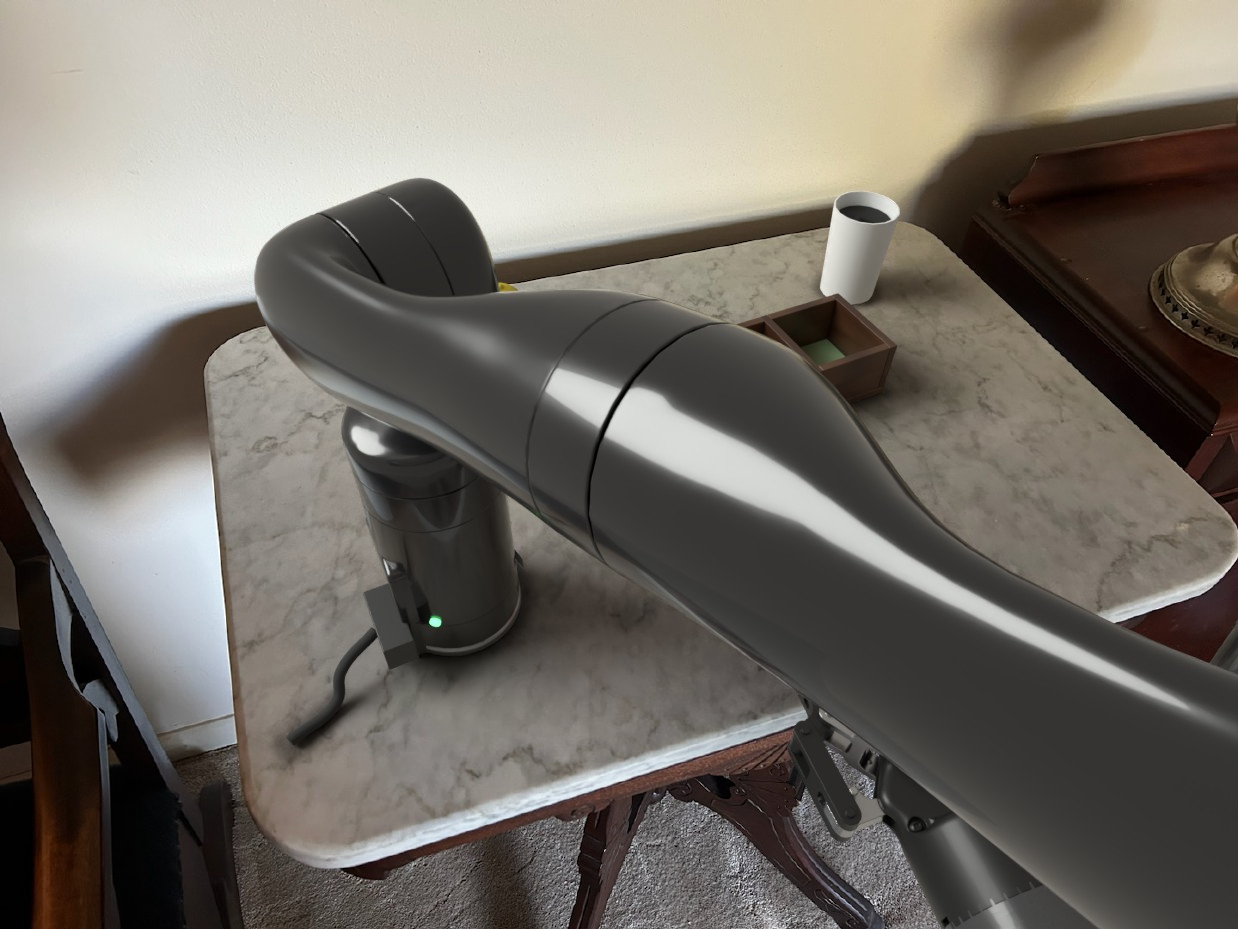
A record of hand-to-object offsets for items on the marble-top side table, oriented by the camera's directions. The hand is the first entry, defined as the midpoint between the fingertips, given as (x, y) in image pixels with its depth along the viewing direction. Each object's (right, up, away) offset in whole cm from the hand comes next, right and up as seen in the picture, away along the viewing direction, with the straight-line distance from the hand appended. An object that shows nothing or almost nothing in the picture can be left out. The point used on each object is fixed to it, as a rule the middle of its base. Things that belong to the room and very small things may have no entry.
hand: (864, 637), depth 52 cm
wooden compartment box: (+1, +18, +30) cm, 35 cm away
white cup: (+10, +30, +42) cm, 52 cm away
